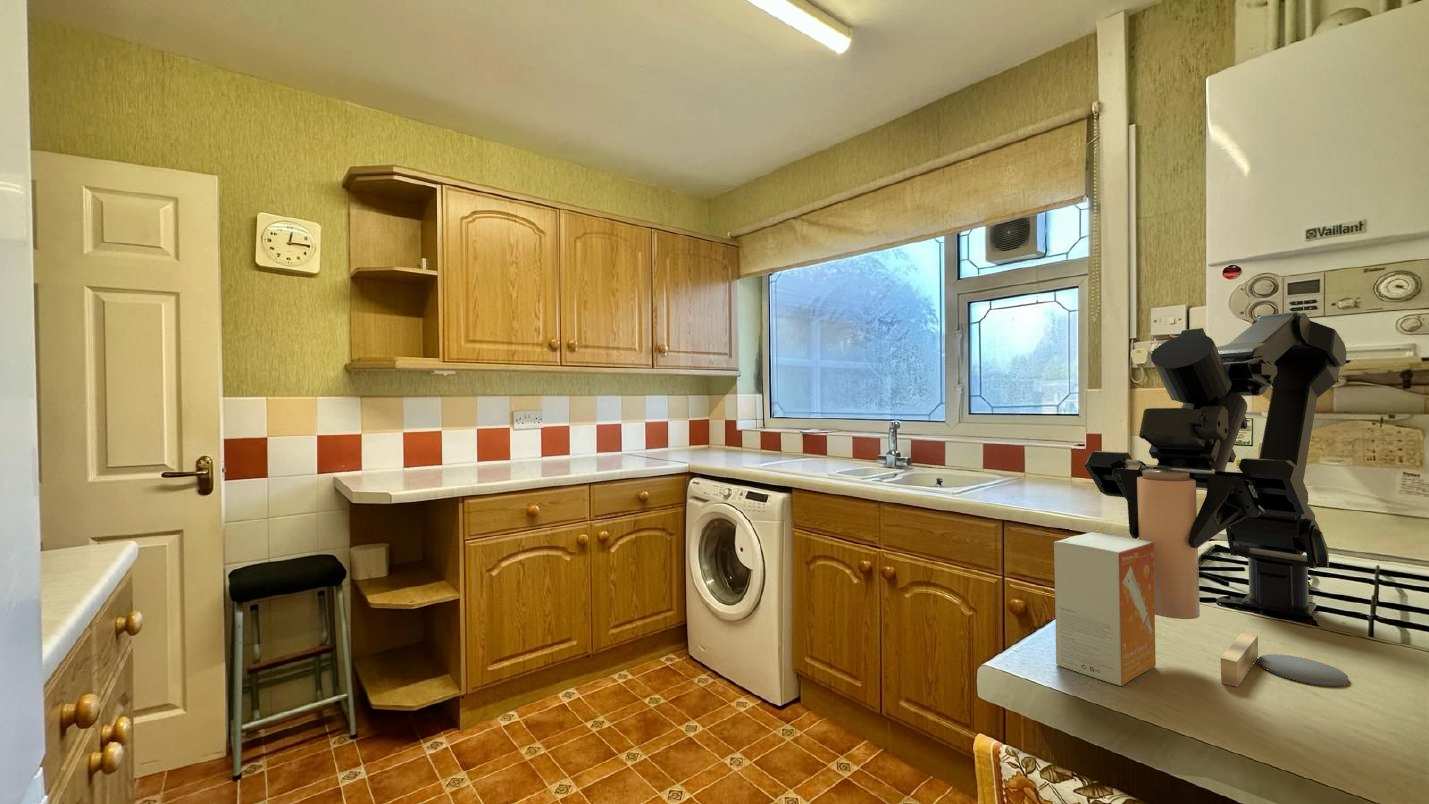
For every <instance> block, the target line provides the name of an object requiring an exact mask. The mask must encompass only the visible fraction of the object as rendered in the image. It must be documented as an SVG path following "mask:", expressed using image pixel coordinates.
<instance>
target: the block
mask: <svg viewBox="0 0 1429 804" xmlns="http://www.w3.org/2000/svg"><path fill="white" fill-rule="evenodd" d="M1257 657H1258V658H1259V636H1258V635H1257V634H1252V633H1249V632H1244V631H1243V632H1242V633H1240V635H1239V636H1238V637H1237V638H1236V639H1235V640H1234V642H1233V643H1232V644H1231V645H1230V646H1229V647H1228V649H1227V650H1226V651H1225V652H1224V653H1223V654H1222V655H1221V657H1220V680H1221V681H1220V683H1221V684H1225V685H1228V686H1233V687H1236V688H1239V686H1240V685H1241V683H1242V681H1243V680H1244V679H1245V677H1247V675H1248V674H1249V672H1250V671H1251V669H1252V668H1251V666H1252V665H1253V663H1254V662H1255V661H1256V659H1257ZM1257 660H1258V659H1257ZM1256 662H1257V661H1256ZM1256 662H1255V663H1256ZM1255 663H1254V664H1255ZM1253 666H1254V665H1253ZM1253 666H1252V667H1253ZM1250 668H1251V669H1250ZM1248 671H1249V672H1248Z"/></svg>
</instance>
